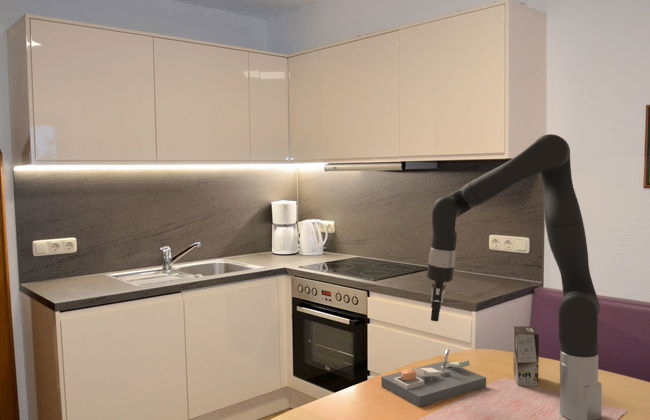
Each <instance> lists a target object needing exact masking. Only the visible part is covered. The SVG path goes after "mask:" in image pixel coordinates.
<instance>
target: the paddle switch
mask: <svg viewBox="0 0 650 420" xmlns="http://www.w3.org/2000/svg"><path fill="white" fill-rule="evenodd" d="M448 366H451V367H459V368H465V367H469V366H470V360H468V359H466V360H463V361H452V362H450V363H448Z"/></svg>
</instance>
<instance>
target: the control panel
mask: <svg viewBox="0 0 650 420" xmlns="http://www.w3.org/2000/svg"><path fill="white" fill-rule="evenodd" d="M448 363H451V362H450V361H447V363H446V367H445V368H446V369H445V370H444V371H443V370H441V367H442V364H443V360H442V361H438V362H435V363H431V364H428V365H427V364H426V365H424V366H419V367H417V368H433V369H436V370H438V371H440V372H441V376H426V377H423V376H420V375H418V374H416V380H413V381H405V380H402V379H401V371H399V372H396V373H391V374H387V375H384V376H381V378H380V379H381V387H382V388H384V389H386V390H387V391H389V392H391V393H393V394H395V395H396V396H398V397H400V398H402V399H404V400H405V401H407V402H409V403H411V404H413V405H415V406H416V407H418V408H421V407H424V406H427V405H431V404H433V403H437V402H441V401H445V400H448V399H451V398H454V397H458V396H461V395H464V394H468V393H471V392H475V391H477V390H482V389H485V388H487V377H486V376H483V375H480V374H479V373H476V372H474V371H472V370H469V369H467V368H465V367H462V368H459V367H451V366H448ZM412 369H413V370H414V368H412ZM484 387H485V388H484Z"/></svg>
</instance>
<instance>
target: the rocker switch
mask: <svg viewBox="0 0 650 420" xmlns="http://www.w3.org/2000/svg"><path fill="white" fill-rule="evenodd" d="M413 369H414V370H415V371H416V374H418V375H420V376H423V377H426V376H441V372H440V371H438V370H436V369H433V368H418V367H414V368H413Z"/></svg>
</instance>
